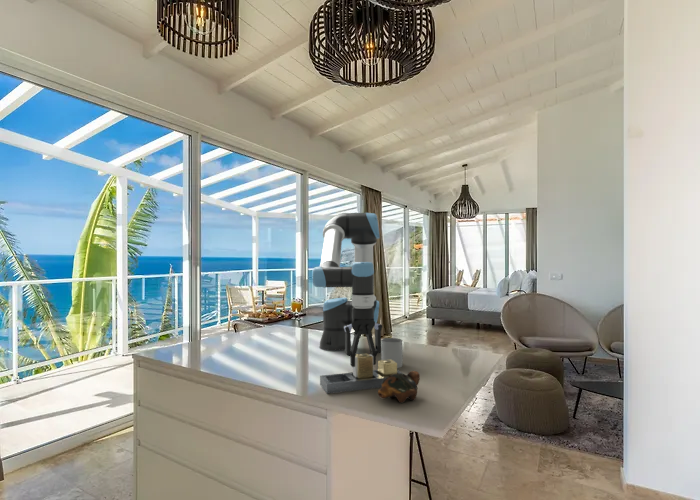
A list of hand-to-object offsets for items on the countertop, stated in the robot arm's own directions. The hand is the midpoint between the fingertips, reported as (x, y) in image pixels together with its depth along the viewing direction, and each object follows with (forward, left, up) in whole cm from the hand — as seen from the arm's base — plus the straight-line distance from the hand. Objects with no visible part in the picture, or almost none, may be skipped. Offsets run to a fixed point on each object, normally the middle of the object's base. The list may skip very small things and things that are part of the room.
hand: (363, 375), depth 135 cm
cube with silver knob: (0, 0, 0) cm, 0 cm away
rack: (0, 0, -3) cm, 3 cm away
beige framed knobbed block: (0, +9, -3) cm, 10 cm away
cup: (-18, +19, -3) cm, 27 cm away
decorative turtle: (+17, +6, -3) cm, 18 cm away
